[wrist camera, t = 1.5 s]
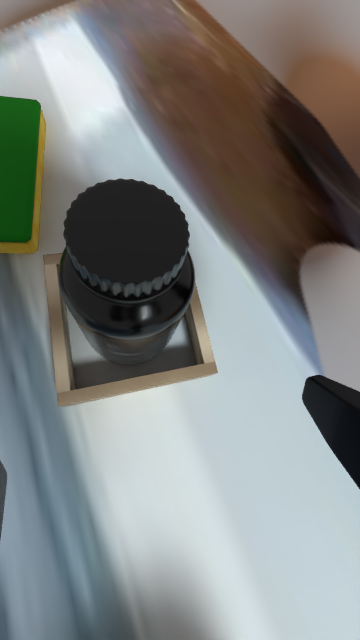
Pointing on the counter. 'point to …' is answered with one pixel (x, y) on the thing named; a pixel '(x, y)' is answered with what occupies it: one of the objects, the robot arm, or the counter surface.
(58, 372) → the frame
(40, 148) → the dish sponge
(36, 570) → the counter surface
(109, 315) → the supplement bottle
